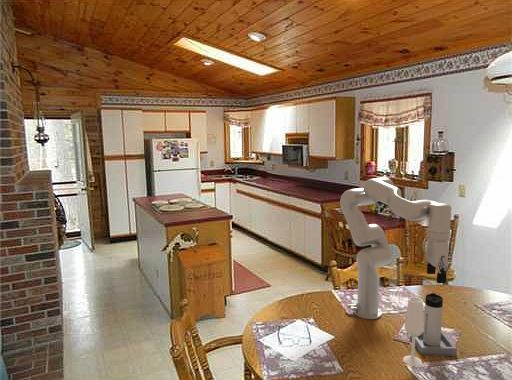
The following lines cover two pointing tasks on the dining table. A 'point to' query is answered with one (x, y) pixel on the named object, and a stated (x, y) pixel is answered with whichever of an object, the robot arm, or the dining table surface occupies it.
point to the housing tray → (444, 349)
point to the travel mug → (432, 320)
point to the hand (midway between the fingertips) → (435, 278)
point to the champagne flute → (414, 327)
